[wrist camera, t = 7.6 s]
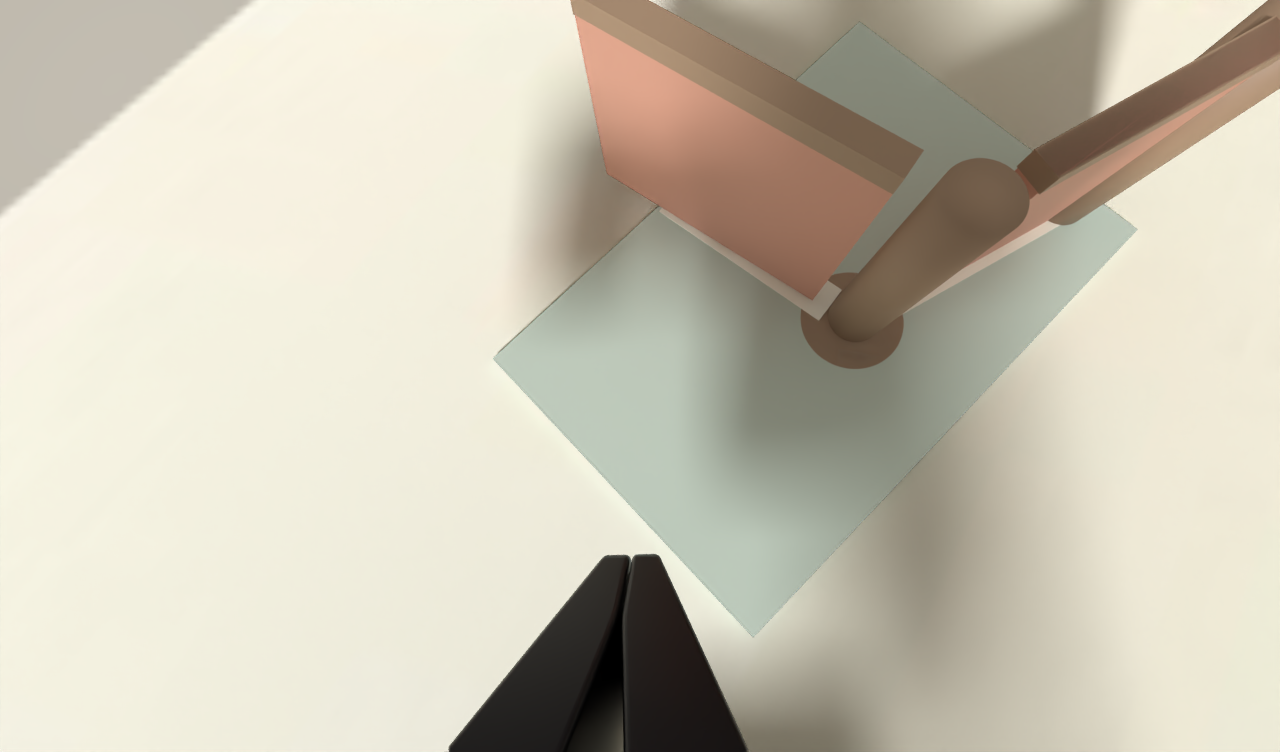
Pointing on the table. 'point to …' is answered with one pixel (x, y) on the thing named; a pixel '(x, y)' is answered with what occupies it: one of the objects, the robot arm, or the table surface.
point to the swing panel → (779, 165)
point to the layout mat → (790, 357)
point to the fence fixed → (1113, 152)
